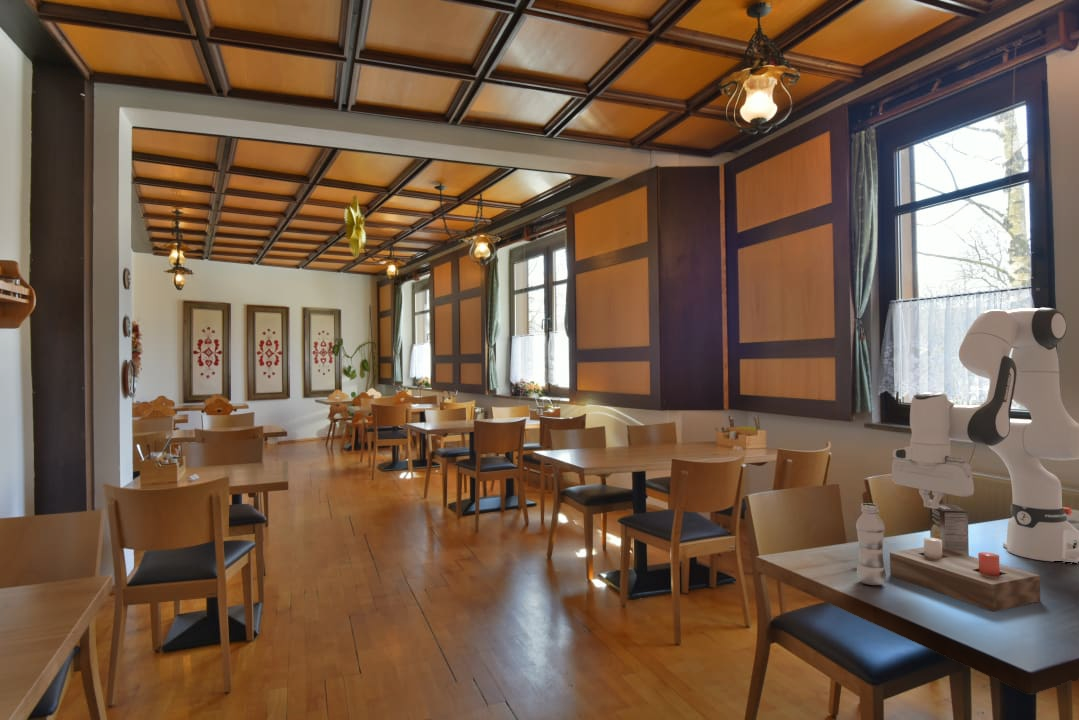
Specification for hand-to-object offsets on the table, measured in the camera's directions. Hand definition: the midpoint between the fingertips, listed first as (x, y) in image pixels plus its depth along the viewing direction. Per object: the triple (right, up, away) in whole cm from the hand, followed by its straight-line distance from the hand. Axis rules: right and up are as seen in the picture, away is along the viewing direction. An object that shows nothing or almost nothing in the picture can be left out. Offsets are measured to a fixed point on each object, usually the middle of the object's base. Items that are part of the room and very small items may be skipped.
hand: (931, 507), depth 157 cm
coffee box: (+12, -19, +10) cm, 24 cm away
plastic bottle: (-18, -19, -3) cm, 26 cm away
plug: (0, -15, 0) cm, 15 cm away
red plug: (+5, -14, -13) cm, 20 cm away
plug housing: (+3, -18, -7) cm, 20 cm away
